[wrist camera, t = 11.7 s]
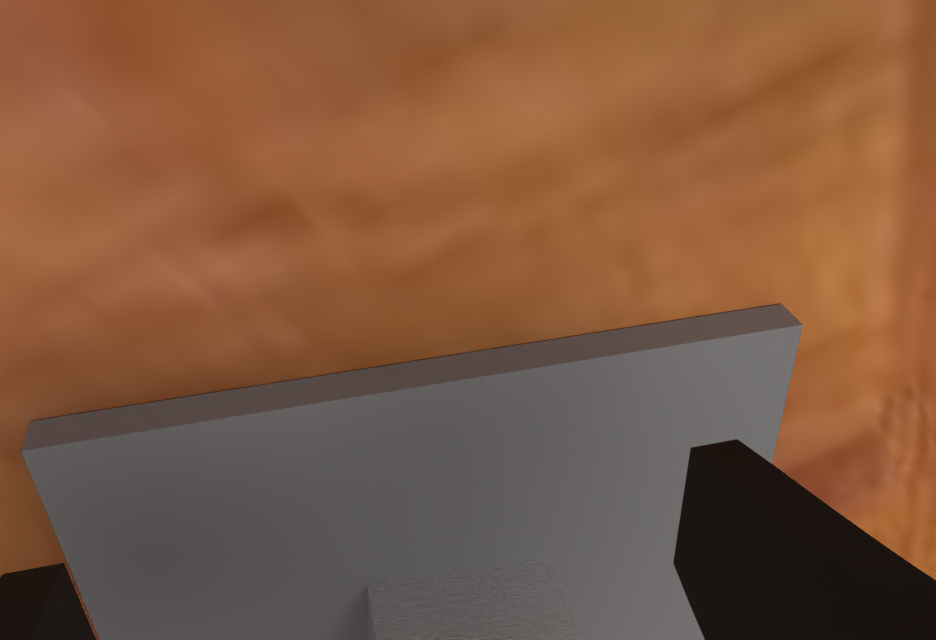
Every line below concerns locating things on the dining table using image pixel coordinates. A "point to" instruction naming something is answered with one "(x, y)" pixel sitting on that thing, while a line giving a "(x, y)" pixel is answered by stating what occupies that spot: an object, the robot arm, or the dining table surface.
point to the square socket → (473, 605)
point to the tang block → (410, 481)
